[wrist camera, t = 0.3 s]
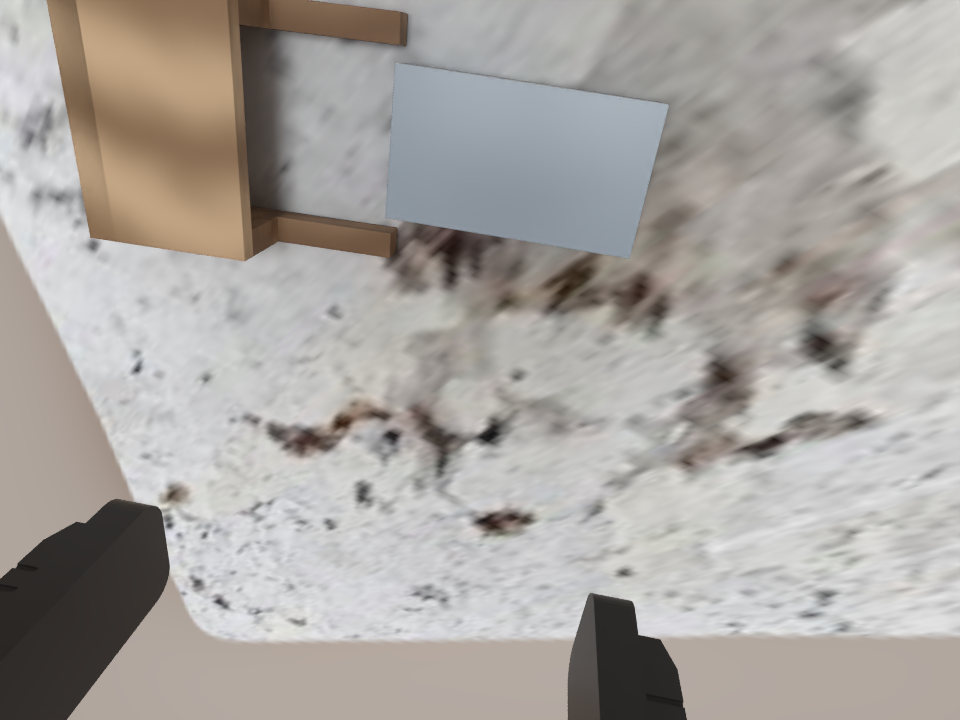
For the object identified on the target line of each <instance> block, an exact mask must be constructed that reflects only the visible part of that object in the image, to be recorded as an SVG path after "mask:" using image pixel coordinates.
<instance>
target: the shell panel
mask: <svg viewBox="0 0 960 720" xmlns="http://www.w3.org/2000/svg"><path fill="white" fill-rule="evenodd" d="M668 107H669V104H666V103H663V102H657V101H650V100H644V99H637V98H631V97H624V96H618V95H611V94H604V93H598V92H591V91H585V90H578V89H572V88H565V87H559V86H552V85H546V84H539V83H532V82H526V81H519V80H513V79H506V78H500V77H493V76H487V75H480V74H473V73H467V72H460V71H454V70H447V69H441V68H434V67H428V66H421V65H414V64H408V63H395V75H394V91H393V107H392V123H391V139H390V154H389V170H388V186H387V202H386V218H390V219H396V220H402V221H408V222H414V223H420V224H426V225H432V226H438V227H444V228H450V229H456V230H462V231H468V232H473V233H479V234H485V235H491V236H497V237H503V238H509V239H515V240H521V241H527V242H533V243H539V244H545V245H551V246H557V247H563V248H569V249H575V250H581V251H587V252H593V253H599V254H605V255H611V256H617V257H623V258H629V259H630V255H631V251H632V247H633V243H634V239H635V235H636V231H637V228H638V224H639V220H640V216H641V212H642V208H643V204H644V200H645V196H646V192H647V189H648V185H649V181H650V177H651V173H652V169H653V165H654V161H655V157H656V153H657V150H658V146H659V142H660V138H661V134H662V130H663V126H664V122H665V118H666V114H667V111H668Z"/></svg>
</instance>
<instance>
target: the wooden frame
mask: <svg viewBox="0 0 960 720" xmlns="http://www.w3.org/2000/svg"><path fill="white" fill-rule="evenodd" d="M47 5H48V11H49V16H50V21H51V27H52V32H53V37H54V43H55V48H56V54H57V59H58V64H59V70H60V75H61V81H62V86H63V91H64V97H65V102H66V108H67V113H68V118H69V124H70V129H71V135H72V140H73V145H74V151H75V156H76V162H77V167H78V172H79V178H80V183H81V189H82V194H83V199H84V205H85V210H86V216H87V221H88V226H89V232H90V237H91V238H96V239H103V240H109V241H116V242H123V243H129V244H136V245H142V246H149V247H155V248H162V249H168V250H175V251H181V252H188V253H194V254H201V255H207V256H214V257H220V258H227V259H234V260H240V261H246V260H248V259H249V258H251V257H253V256H254V255H256V254H258V253H260V252H261V251H263V250H265V249H266V248H268V247H270V246H271V245H273V244H275V243H276V242H278V241H280V242H287V243H293V244H300V245H307V246H313V247H320V248H327V249H333V250H340V251H347V252H353V253H360V254H367V255H373V256H380V257H387V258H390V257H391V256H392V255H393V254H394V253H395V252H396V238H397V228H395V227H388V226H382V225H375V224H368V223H361V222H354V221H348V220H341V219H334V218H327V217H320V216H314V215H307V214H300V213H293V212H286V211H279V210H273V209H266V208H259V207H252V206H250V193H249V177H248V160H247V144H246V127H245V111H244V94H243V78H242V61H241V45H240V28H239V25H244V26H252V27H260V28H268V29H276V30H283V31H291V32H299V33H307V34H315V35H323V36H331V37H339V38H347V39H355V40H363V41H370V42H378V43H386V44H394V45H402V46H406V40H407V20H408V14H406V13H403V12H399V11H390V10H382V9H374V8H366V7H358V6H350V5H341V4H333V3H325V2H317V1H309V0H47Z"/></svg>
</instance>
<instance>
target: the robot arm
mask: <svg viewBox="0 0 960 720" xmlns="http://www.w3.org/2000/svg"><path fill="white" fill-rule="evenodd" d="M169 569H170V565H169V557H168V551H167V544H166V537H165V531H164V524H163V517H162V512H161V510H160V509H159V508H158V507H156V506H152V505H146V504H141V503H136V502H131V501H126V500H121V499H114V500H112V501H110V502H108V503H107V504H106V505H104V506H103V507H102V508H101V509H100V510H99V511H98V512H97V513H96V514H95V515H94V516H93V517H92V518H91V519H90V520H89V521H88V522H87V523H80V522H75V523H74V524H72V525H70V526H68V527H66V528H65V529H63V530H61V531H59V532H57V533H55V534H53V535H52V536H50V537H48V538H46V539H44V540H43V541H42V542H41V543H40V544H38V545H37V546H36V547H35V548H34V549H33V550H32V551H31V552H30V553H29V554H27V555H26V556H25V557H24V558H23V559H22V560H21V561H20V562H19V563H18V565H17V567H16V568H15V569H14V568H12V569H11V570H10V571H9V572H8V573H6V574H5V575H4V576H3V577H2V578H1V579H0V720H67V718H68V717H69V716H70V715H71V713H72V712H73V711H74V709H75V708H76V707H77V705H78V704H79V703H80V701H81V700H82V699H83V698H84V696H85V695H86V694H87V692H88V691H89V689H90V688H91V687H92V686H93V684H94V683H95V682H96V681H97V679H98V678H99V677H100V675H101V674H102V673H103V671H104V670H105V669H106V667H107V666H108V665H109V664H110V662H111V661H112V660H113V658H114V657H115V655H116V654H117V653H118V652H119V650H120V649H121V648H122V646H123V645H124V644H125V643H126V641H127V640H128V639H129V637H130V636H131V635H132V633H133V632H134V631H135V629H136V628H137V627H138V626H139V624H140V623H141V622H142V620H143V619H144V618H145V616H146V615H147V614H148V612H149V611H150V610H151V609H152V607H153V606H154V605H155V603H156V602H157V601H158V599H159V598H160V596H161V594H162V592H163V590H164V588H165V586H166V583H167V580H168V576H169ZM568 720H687V718H686V713H685V708H683V697H682V692H681V686H680V682H679V675H678V670H677V668H676V666H675V664H674V663H673V661H672V659H671V658H670V656H669V654H668V652H667V651H666V649H665V647H664V645H663V644H662V642H661V640H660V639H655V638H650V637H645V636H640V635H638V630H637V622H636V614H635V608H634V604H633V602H632V601H629V600H624V599H619V598H614V597H609V596H603V595H598V594H593V593H590V594H589V596H588V598H587V601H586V604H585V608H584V611H583V614H582V618H581V621H580V624H579V627H578V631H577V634H576V637H575V641H574V644H573V648H572V652H571V658H570V663H569V673H568Z"/></svg>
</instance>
